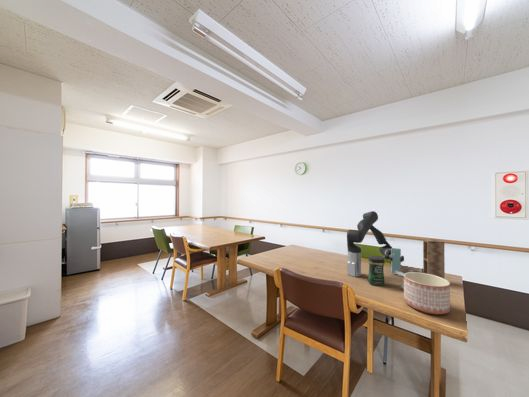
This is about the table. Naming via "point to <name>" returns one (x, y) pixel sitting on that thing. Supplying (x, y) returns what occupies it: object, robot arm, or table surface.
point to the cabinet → (432, 258)
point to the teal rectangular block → (396, 260)
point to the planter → (427, 293)
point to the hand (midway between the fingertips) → (396, 260)
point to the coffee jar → (376, 270)
